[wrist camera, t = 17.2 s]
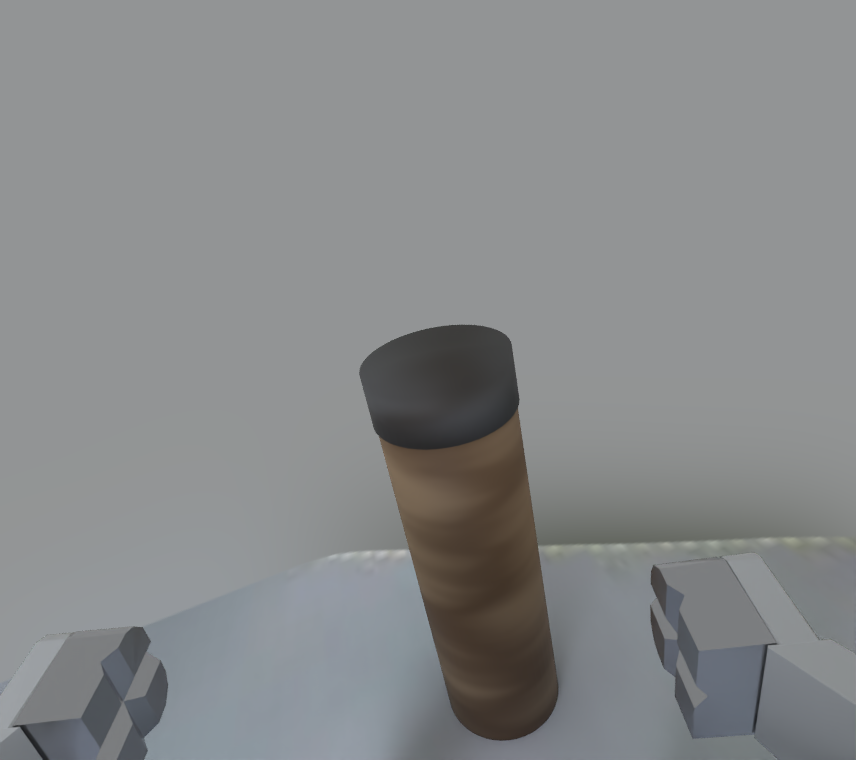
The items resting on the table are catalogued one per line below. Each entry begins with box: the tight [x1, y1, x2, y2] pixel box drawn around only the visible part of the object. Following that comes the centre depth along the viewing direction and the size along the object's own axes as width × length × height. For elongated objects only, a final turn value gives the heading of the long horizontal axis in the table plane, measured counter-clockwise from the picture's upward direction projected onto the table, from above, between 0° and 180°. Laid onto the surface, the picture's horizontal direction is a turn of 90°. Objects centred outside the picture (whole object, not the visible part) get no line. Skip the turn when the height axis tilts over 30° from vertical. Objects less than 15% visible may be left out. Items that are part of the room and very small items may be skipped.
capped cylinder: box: [359, 325, 558, 740], centre depth 24 cm, size 5×5×17 cm
